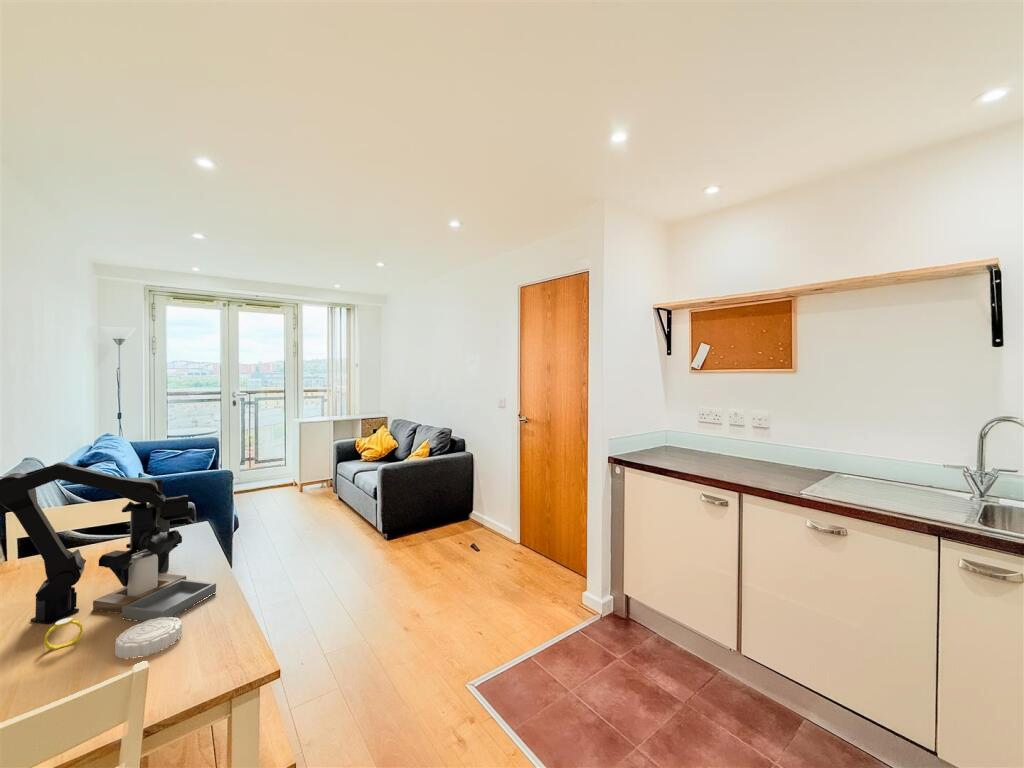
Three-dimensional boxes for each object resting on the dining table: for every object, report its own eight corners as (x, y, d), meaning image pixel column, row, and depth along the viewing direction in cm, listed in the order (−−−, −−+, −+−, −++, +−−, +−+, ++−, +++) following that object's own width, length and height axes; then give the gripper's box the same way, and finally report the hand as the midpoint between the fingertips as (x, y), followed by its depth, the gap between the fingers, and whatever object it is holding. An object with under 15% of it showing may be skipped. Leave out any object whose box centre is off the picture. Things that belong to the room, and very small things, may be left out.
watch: (45, 655, 93) (42, 630, 93) (45, 650, 95) (43, 625, 95) (83, 642, 98) (81, 617, 97) (83, 637, 99) (81, 612, 99)
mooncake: (175, 623, 106) (175, 609, 106) (188, 642, 99) (188, 626, 99) (110, 645, 97) (111, 630, 97) (119, 668, 89) (120, 651, 89)
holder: (125, 614, 110) (125, 604, 110) (93, 609, 111) (93, 600, 111) (186, 584, 126) (186, 575, 126) (157, 580, 128) (157, 572, 128)
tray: (160, 624, 105) (160, 612, 105) (121, 619, 107) (122, 607, 107) (215, 593, 121) (216, 583, 121) (181, 589, 123) (181, 579, 123)
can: (130, 604, 114) (131, 561, 114) (124, 597, 118) (125, 555, 118) (160, 595, 119) (161, 553, 120) (154, 588, 123) (154, 548, 123)
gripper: (131, 538, 108) (130, 597, 108) (197, 516, 127) (196, 567, 127) (97, 534, 110) (96, 593, 110) (167, 513, 129) (166, 564, 129)
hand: (142, 578), depth 119 cm, fingers open, 9 cm apart
